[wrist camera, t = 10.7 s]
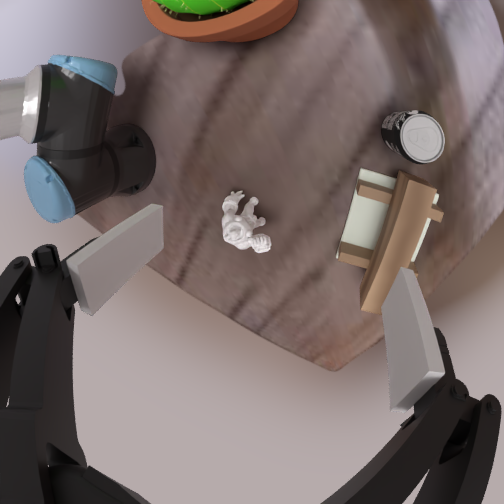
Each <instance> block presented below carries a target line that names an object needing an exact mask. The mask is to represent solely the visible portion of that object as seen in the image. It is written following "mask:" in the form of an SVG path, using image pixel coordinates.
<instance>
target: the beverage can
mask: <svg viewBox="0 0 504 504" xmlns="http://www.w3.org/2000/svg"><path fill="white" fill-rule="evenodd" d="M382 137H383V140H384V142H385V143H386V145H387V146H388V147H389V148H390V149H391V150H393V151H394V152H396V153H398V154H399V155H401V156H402V157H404V158H406V159H407V160H409V161H411V162H413V163H416V164H427V163H430V162H432V161H434V160H436V159H437V158H438V157H439V156H440V155H441V153H442V151H443V149H444V144H445V139H444V133H443V131H442V128H441V127H440V125H439V124H438V122H437V121H436V120H435V119H434V118H433V117H432V116H431V115H429V114H427V113H425V112H423V111H418V110H414V111H402V112H394V113H392V114H390V115H388V116H387V117H386V118H385V120H384V122H383V124H382Z"/></svg>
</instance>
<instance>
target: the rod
mask: <svg viewBox="0 0 504 504" xmlns="http://www.w3.org/2000/svg"><path fill="white" fill-rule="evenodd" d="M436 191H437V189H436V188H434V187H433V186H432V185H431V184H429V183H428V182H427V181H426V180H424V179H423V178H420V177H417V176H415V175H412V174H409V173H406V172H403V171H400V170H399V172H398V175H397V179H396V183H395V186H394V190H393V193H392V197H391V200H390V204H389V207H388V210H387V213H386V216H385V220H384V223H383V226H382V229H381V232H380V235H379V237H378V240H377V243H376V246H375V249H374V251H373V254H372V257H371V260H370V262H369V265H368V267H367V270H366V272H365V275H364V277H363V280H362V282H361V285H360V307H361V310H363V311H367V312H371V313H375V314H379V315H382V310H381V307H382V305H383V303H384V301H385V299H386V297H387V295H388V293H389V291H390V289H391V287H392V285H393V283H394V281H395V279H396V276H397V274H398V272H399V270H400V268H401V267H403V268H408V266H409V264H410V261H411V259H412V257H413V254H414V252H415V249H416V247H417V244H418V242H419V239H420V237H421V234H422V232H423V229H424V226H425V224H426V221H427V218H428V215H429V212H430V209H431V206H432V203H433V200H434V197H435V194H436Z"/></svg>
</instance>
